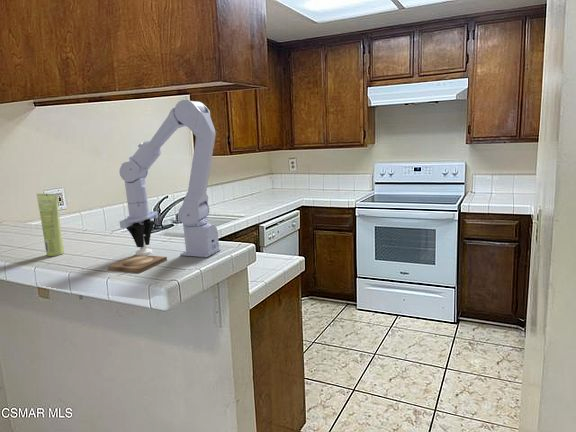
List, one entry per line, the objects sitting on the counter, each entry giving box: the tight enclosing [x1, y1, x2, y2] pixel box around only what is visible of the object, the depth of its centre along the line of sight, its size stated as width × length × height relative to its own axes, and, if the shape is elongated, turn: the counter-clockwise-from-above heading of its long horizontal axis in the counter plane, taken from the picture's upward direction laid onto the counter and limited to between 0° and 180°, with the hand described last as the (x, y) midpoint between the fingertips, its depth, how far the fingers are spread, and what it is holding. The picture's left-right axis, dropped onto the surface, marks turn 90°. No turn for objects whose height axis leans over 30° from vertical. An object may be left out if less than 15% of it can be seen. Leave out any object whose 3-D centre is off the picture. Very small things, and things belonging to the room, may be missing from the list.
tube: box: [36, 193, 65, 257], centre depth 137 cm, size 6×5×20 cm
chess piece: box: [135, 223, 153, 256], centre depth 133 cm, size 5×5×10 cm
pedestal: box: [107, 254, 168, 274], centre depth 122 cm, size 11×11×1 cm
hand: (143, 245), depth 133 cm, fingers closed on chess piece
